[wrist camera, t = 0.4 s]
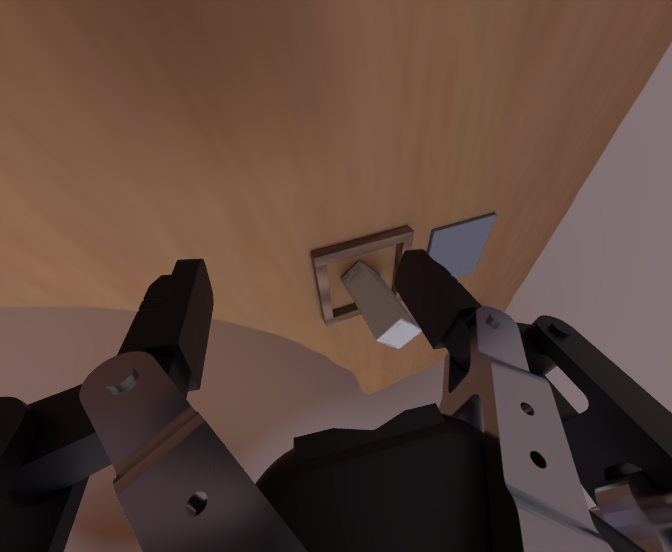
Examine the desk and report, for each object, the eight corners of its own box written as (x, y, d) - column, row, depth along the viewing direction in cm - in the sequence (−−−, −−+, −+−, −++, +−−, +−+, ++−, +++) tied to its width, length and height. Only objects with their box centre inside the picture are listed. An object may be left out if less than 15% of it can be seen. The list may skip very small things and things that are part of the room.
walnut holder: (310, 251, 33) (313, 258, 32) (408, 225, 36) (414, 231, 35) (323, 318, 44) (325, 325, 42) (398, 294, 46) (402, 300, 45)
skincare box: (339, 278, 38) (373, 340, 30) (360, 258, 37) (401, 318, 29) (363, 292, 43) (398, 350, 34) (382, 274, 41) (423, 331, 33)
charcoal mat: (431, 230, 38) (434, 231, 38) (494, 212, 41) (497, 214, 40) (419, 287, 47) (421, 289, 47) (471, 270, 49) (473, 272, 49)
